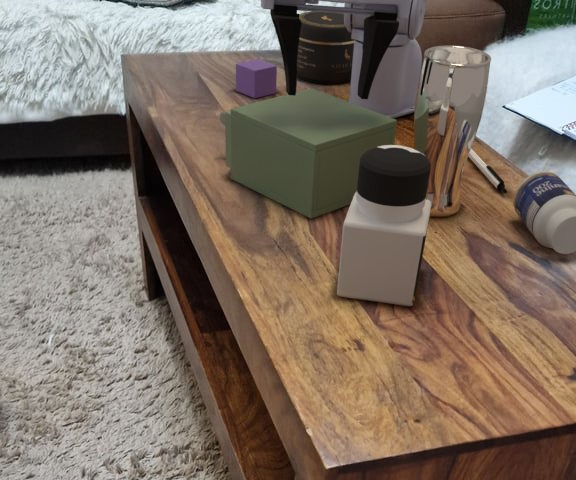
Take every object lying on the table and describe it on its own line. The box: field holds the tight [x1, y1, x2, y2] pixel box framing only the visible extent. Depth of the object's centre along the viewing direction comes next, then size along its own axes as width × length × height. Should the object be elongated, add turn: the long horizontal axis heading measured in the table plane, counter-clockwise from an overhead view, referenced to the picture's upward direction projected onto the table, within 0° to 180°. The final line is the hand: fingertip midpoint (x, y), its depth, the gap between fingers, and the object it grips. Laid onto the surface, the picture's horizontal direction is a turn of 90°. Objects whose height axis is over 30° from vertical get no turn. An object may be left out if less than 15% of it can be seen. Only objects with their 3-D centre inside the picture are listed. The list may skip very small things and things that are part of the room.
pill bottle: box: [513, 170, 576, 255], centre depth 79 cm, size 5×5×10 cm
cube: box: [235, 58, 278, 99], centre depth 111 cm, size 4×4×4 cm
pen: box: [467, 148, 508, 194], centre depth 95 cm, size 1×19×1 cm, turn 11°
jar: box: [297, 11, 354, 85], centre depth 116 cm, size 10×10×8 cm
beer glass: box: [413, 45, 492, 218], centre depth 81 cm, size 7×7×15 cm
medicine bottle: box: [336, 144, 431, 307], centre depth 69 cm, size 7×7×12 cm
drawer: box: [219, 109, 231, 169], centre depth 88 cm, size 17×11×6 cm
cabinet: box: [230, 87, 398, 220], centre depth 86 cm, size 13×12×8 cm
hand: (327, 95), depth 80 cm, fingers open, 7 cm apart
